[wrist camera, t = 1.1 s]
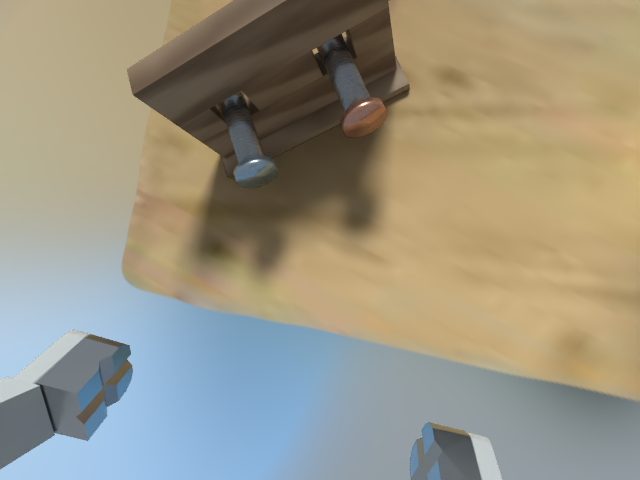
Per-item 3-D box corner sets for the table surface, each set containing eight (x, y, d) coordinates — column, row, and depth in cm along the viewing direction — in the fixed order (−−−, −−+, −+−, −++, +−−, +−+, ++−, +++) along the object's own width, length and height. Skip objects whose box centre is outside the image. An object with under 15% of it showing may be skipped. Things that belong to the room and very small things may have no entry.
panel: (216, 129, 47) (118, 51, 32) (383, 37, 42) (359, -110, 27) (231, 178, 45) (133, 120, 30) (409, 88, 40) (399, -39, 25)
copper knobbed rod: (310, 50, 38) (295, 19, 34) (345, 29, 37) (335, -5, 33) (349, 143, 35) (338, 122, 30) (389, 123, 34) (384, 99, 30)
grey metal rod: (221, 100, 40) (197, 78, 36) (252, 83, 39) (231, 58, 35) (249, 191, 37) (227, 178, 33) (284, 174, 36) (266, 159, 32)
